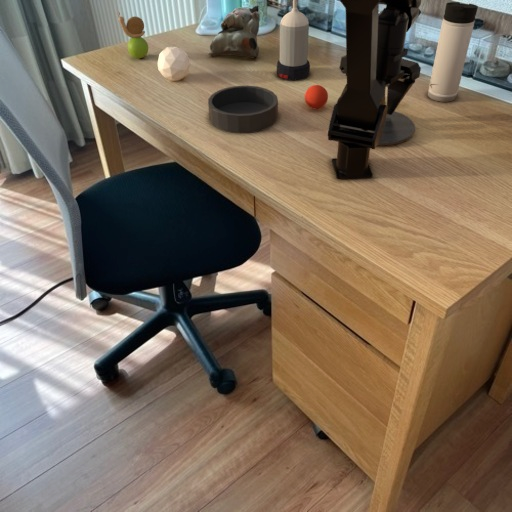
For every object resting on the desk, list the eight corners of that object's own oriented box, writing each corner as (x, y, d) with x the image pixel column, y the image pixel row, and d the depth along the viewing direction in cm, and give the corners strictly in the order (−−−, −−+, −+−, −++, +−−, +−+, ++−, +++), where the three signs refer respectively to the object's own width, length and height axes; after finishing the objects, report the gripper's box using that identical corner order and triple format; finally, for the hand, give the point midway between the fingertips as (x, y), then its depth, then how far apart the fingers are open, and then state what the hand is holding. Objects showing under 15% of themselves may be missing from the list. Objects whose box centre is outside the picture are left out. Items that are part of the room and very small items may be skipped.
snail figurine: (123, 56, 142) (114, 9, 134) (146, 52, 144) (139, 5, 136) (128, 63, 138) (119, 15, 130) (152, 59, 140) (145, 11, 132)
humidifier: (276, 81, 128) (277, -35, 111) (276, 68, 134) (277, -44, 118) (310, 80, 127) (316, -35, 111) (308, 67, 134) (314, -44, 117)
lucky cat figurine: (199, 54, 141) (206, -1, 138) (237, 64, 148) (245, 11, 145) (228, 54, 130) (237, -7, 126) (267, 64, 137) (276, 6, 133)
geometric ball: (185, 89, 132) (198, 68, 125) (154, 84, 127) (166, 62, 121) (180, 65, 134) (192, 43, 128) (150, 59, 130) (161, 36, 123)
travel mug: (424, 99, 118) (443, 4, 105) (431, 88, 123) (450, -5, 110) (452, 105, 116) (475, 8, 103) (458, 93, 121) (481, -1, 107)
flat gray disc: (423, 146, 103) (428, 121, 99) (345, 149, 102) (348, 124, 99) (403, 111, 114) (407, 87, 111) (333, 114, 114) (335, 90, 110)
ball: (328, 112, 115) (330, 90, 111) (305, 113, 114) (306, 91, 111) (325, 102, 118) (326, 80, 115) (303, 103, 118) (303, 81, 115)
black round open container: (280, 131, 108) (280, 114, 106) (209, 134, 108) (207, 117, 106) (274, 100, 119) (274, 84, 117) (210, 103, 119) (208, 86, 117)
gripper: (378, 22, 106) (368, 96, 117) (322, 48, 96) (317, 126, 106) (428, 34, 101) (414, 110, 111) (375, 62, 90) (364, 144, 101)
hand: (377, 122), depth 107 cm, fingers open, 9 cm apart
